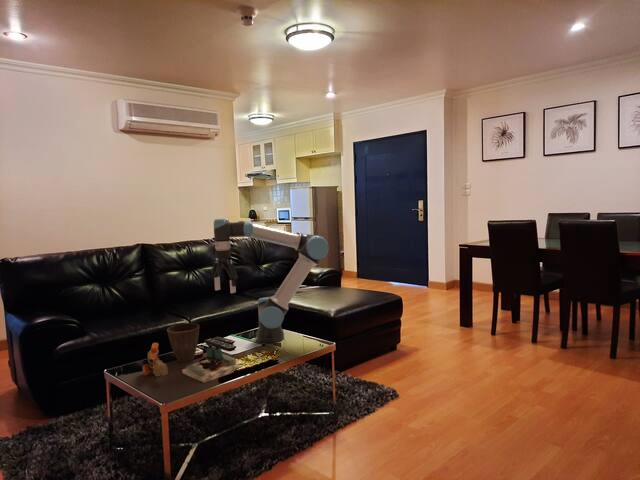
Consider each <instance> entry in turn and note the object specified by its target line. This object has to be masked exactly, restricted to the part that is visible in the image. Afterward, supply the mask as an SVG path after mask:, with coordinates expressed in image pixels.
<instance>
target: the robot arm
mask: <svg viewBox="0 0 640 480" xmlns="http://www.w3.org/2000/svg"><path fill="white" fill-rule="evenodd" d="M213 235H214V236H213V238H214V249H215V251H214V253H215V255H214V256H215V258H213V265H212V270H211V277H213V280H214V291H219V290H221V279H220V274H221V273H222V272H221V271H222V269H224V270H225V271H226V273H227V275H228V276H229V277H228V278H229V288H230V289H229V290H230V294H234V293H237V292H236V291H237V289H236V285H237V284H236V283H237V282H236V280H237V279H238V278H239V275H238V272H237V269H236V266H235V264H234V259H230V258H231V257H232V254H231V253H232V252H231V239H230V238H242V237H243V238H244V237H245V238H251V239H255V240H260V241H262V242H263V241H264V242H268V243H271V244H272V243H273V244H276V245H281V246H285V247H289V248H293V249H295V251H298V259H296V262H295V263H294V265H293V267H292V268H291V269H290V271H289V273H288V274H287V275H286V277H285V279H284V280H283V281H282V283H281V284H280V286H279V288H278V289H277V290H276V292H275V294H274V295H272V296H267V297H260V298H259V299H258V300H257V309H258V312H257V313H258V329H257V334H256V335H255V336H256V337H255V338H256V342H258V343H259V342H260V343H264V344H265V343H267V344H268V343H271V344H272V343H277V342H280V341H283V340H284V339H285V333H284V331H283V327H282V323H283V321H284V320H285V319H284V318H285V315H286V314H287V312H288V311H289V304H290V302H291V300H292V299H293V298H294V296H295V295H296V293H298V292H297V291H298V290H299V288H300V287H301V285H302V284H303V282H304V281H305V279H306V278H307V276H308V274H309V273H310V272H311V270H312V269H313V267H315V266H318V265H319V263H320V262H321V260H322V259H324V258H325V257H327V255H328V252H329V243H328V240H326V239H325V238H324V237H323V236H322V235H321V236H320V235H317V234H309V233H307V234H306V233H301V232H300V233H293V232H290V231H286V230H285V231H284V230H280V229H276V228H272V227H267V226H264V225H259V224H255V223H253V222H252V221H244V220H238V221H237V222H234V221H233V222H230V221H229V219H228V218H218V219H216V218H215V219H214V221H213Z"/></svg>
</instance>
